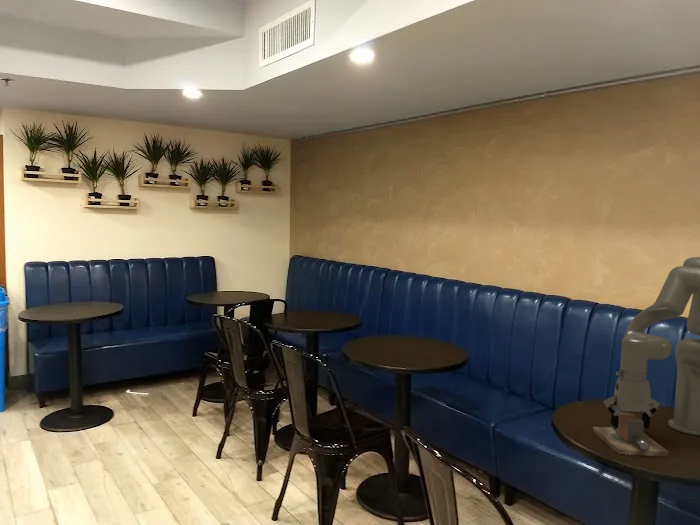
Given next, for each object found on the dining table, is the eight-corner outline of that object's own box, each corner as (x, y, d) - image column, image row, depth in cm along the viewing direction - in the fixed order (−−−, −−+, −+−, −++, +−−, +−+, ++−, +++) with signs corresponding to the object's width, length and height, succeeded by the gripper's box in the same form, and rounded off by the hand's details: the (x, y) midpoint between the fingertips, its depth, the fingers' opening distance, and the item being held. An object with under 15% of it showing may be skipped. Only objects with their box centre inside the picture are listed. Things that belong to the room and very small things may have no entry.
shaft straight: (640, 443, 164) (641, 436, 164) (649, 450, 159) (649, 443, 159) (632, 443, 164) (633, 436, 164) (641, 450, 159) (641, 442, 159)
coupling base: (637, 432, 178) (637, 423, 177) (667, 456, 160) (668, 445, 159) (592, 431, 178) (593, 421, 178) (618, 454, 160) (619, 444, 160)
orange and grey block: (642, 443, 165) (643, 421, 164) (628, 442, 165) (629, 421, 164) (629, 433, 173) (630, 412, 172) (615, 432, 173) (617, 412, 172)
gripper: (611, 378, 164) (608, 431, 165) (667, 379, 163) (663, 432, 165) (600, 371, 171) (597, 421, 173) (653, 372, 171) (650, 422, 172)
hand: (630, 426), depth 169 cm, fingers open, 9 cm apart
